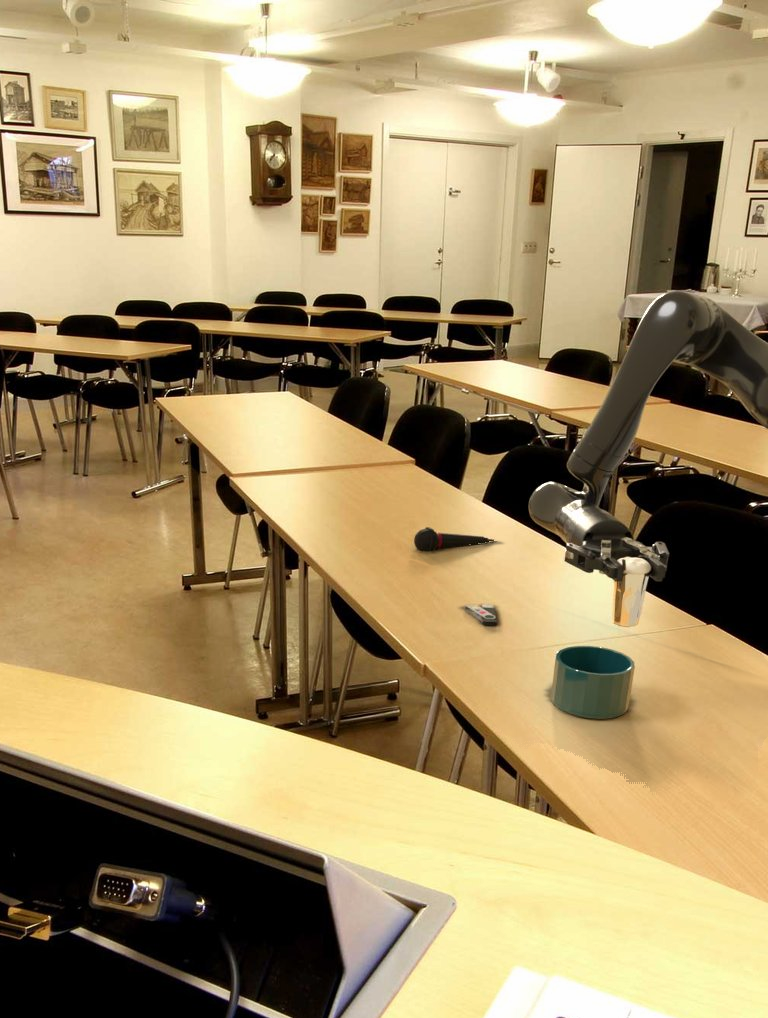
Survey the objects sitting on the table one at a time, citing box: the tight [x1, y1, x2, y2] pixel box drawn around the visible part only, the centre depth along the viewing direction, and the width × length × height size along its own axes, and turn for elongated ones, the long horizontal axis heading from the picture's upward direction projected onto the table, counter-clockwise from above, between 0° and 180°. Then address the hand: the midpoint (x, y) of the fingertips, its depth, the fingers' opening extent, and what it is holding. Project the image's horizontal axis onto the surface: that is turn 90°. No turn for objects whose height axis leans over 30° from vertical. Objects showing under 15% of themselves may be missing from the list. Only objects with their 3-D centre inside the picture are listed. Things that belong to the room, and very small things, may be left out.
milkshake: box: [612, 557, 651, 628], centre depth 121 cm, size 4×5×10 cm
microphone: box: [413, 526, 495, 553], centre depth 197 cm, size 6×6×20 cm
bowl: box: [550, 645, 636, 720], centre depth 126 cm, size 10×10×6 cm
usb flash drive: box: [463, 603, 498, 627], centre depth 159 cm, size 9×5×1 cm, turn 168°
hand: (640, 574), depth 118 cm, fingers closed on milkshake, 4 cm apart
